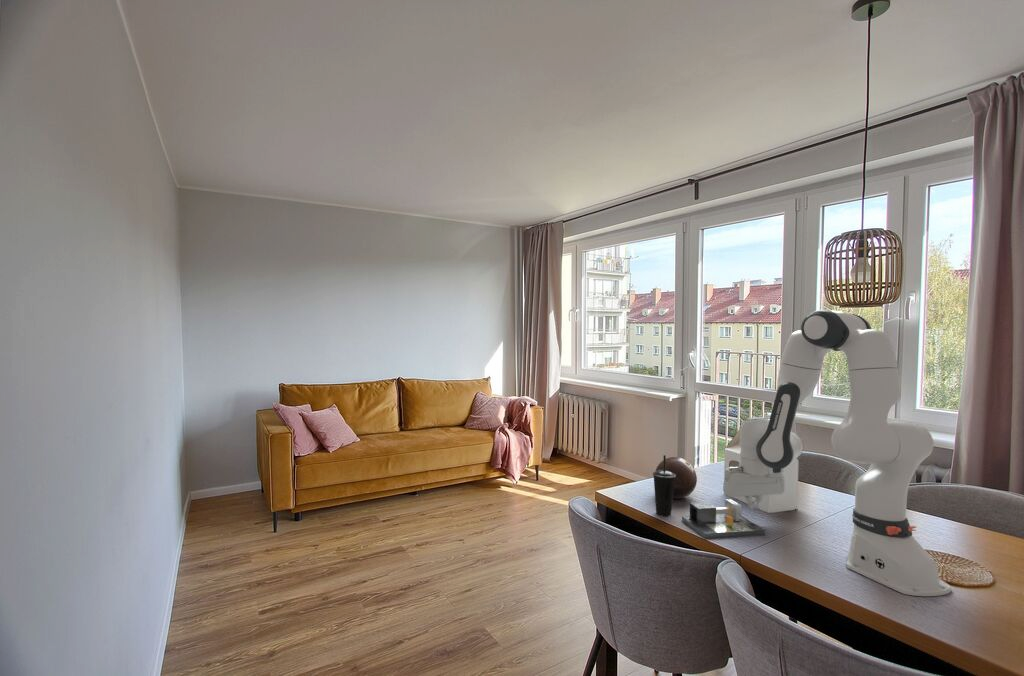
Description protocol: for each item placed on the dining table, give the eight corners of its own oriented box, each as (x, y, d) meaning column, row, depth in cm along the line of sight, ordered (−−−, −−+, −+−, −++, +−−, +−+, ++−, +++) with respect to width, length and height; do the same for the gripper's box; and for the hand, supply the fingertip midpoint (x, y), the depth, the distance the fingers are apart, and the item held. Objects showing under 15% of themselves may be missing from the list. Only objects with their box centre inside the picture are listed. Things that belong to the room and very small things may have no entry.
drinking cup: (679, 513, 172) (680, 455, 171) (669, 519, 166) (670, 459, 166) (658, 507, 177) (659, 451, 177) (648, 513, 171) (648, 455, 171)
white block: (747, 524, 158) (747, 508, 158) (718, 526, 156) (718, 510, 156) (730, 514, 167) (730, 499, 167) (702, 515, 165) (702, 500, 165)
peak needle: (733, 525, 156) (733, 506, 156) (729, 525, 156) (730, 506, 156) (729, 523, 158) (729, 504, 158) (725, 523, 158) (726, 504, 158)
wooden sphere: (697, 506, 179) (698, 464, 179) (653, 501, 183) (654, 460, 183) (695, 493, 193) (696, 454, 193) (655, 489, 198) (655, 451, 197)
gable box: (723, 493, 194) (724, 421, 193) (750, 490, 198) (751, 419, 197) (768, 513, 172) (770, 432, 172) (798, 509, 177) (800, 430, 176)
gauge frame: (764, 534, 155) (765, 514, 154) (704, 538, 151) (705, 517, 151) (737, 517, 168) (737, 498, 168) (681, 520, 165) (682, 501, 165)
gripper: (730, 470, 159) (730, 513, 160) (788, 467, 163) (787, 509, 163) (719, 464, 166) (718, 506, 166) (774, 462, 169) (774, 503, 169)
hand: (753, 508), depth 164 cm, fingers closed
